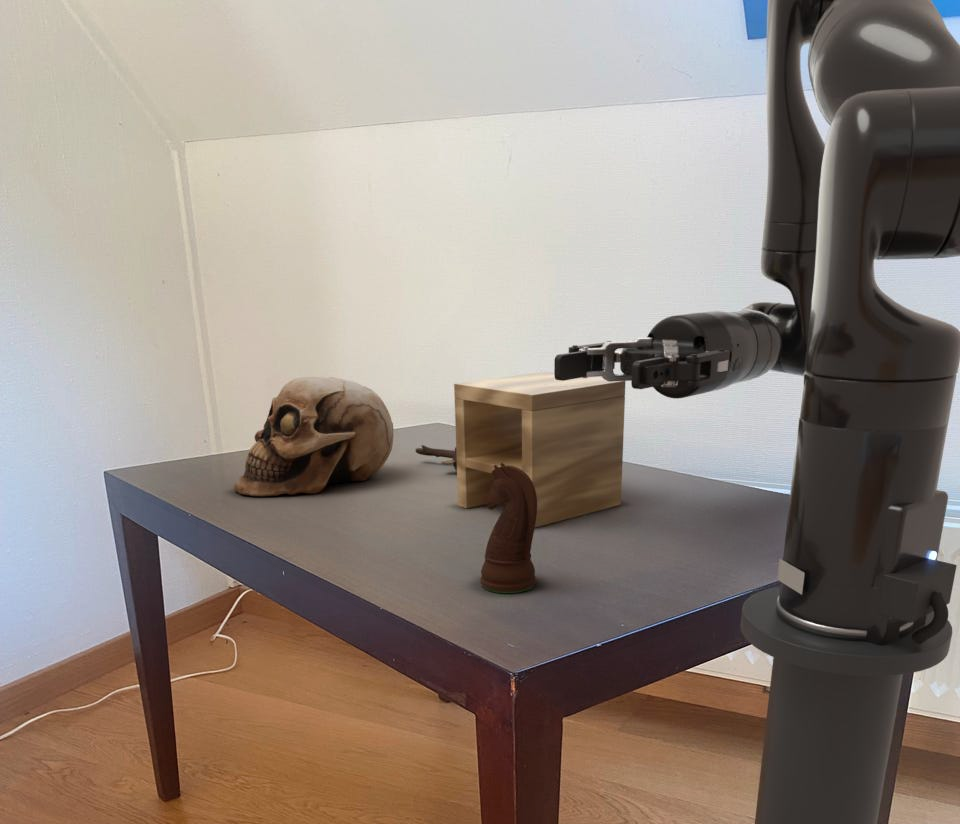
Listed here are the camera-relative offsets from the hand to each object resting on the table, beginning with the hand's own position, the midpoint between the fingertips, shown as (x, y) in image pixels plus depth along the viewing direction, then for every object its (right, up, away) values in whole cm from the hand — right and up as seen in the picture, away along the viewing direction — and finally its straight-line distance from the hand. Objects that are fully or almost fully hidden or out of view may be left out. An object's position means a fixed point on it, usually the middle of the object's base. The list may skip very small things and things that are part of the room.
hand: (594, 372), depth 78 cm
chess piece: (-7, -19, -2) cm, 20 cm away
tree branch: (-9, 0, +41) cm, 42 cm away
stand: (-3, -8, +21) cm, 23 cm away
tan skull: (-30, -4, +33) cm, 45 cm away
